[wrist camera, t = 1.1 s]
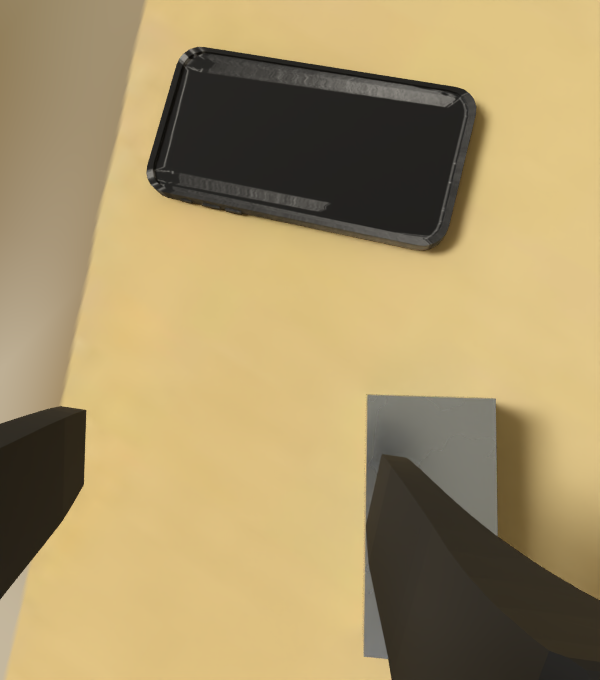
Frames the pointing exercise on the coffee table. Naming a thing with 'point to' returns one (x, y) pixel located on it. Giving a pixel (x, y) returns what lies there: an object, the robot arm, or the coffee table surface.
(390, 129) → the phone
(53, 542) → the coffee table surface
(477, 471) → the plate block
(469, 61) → the coffee table surface
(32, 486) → the robot arm
